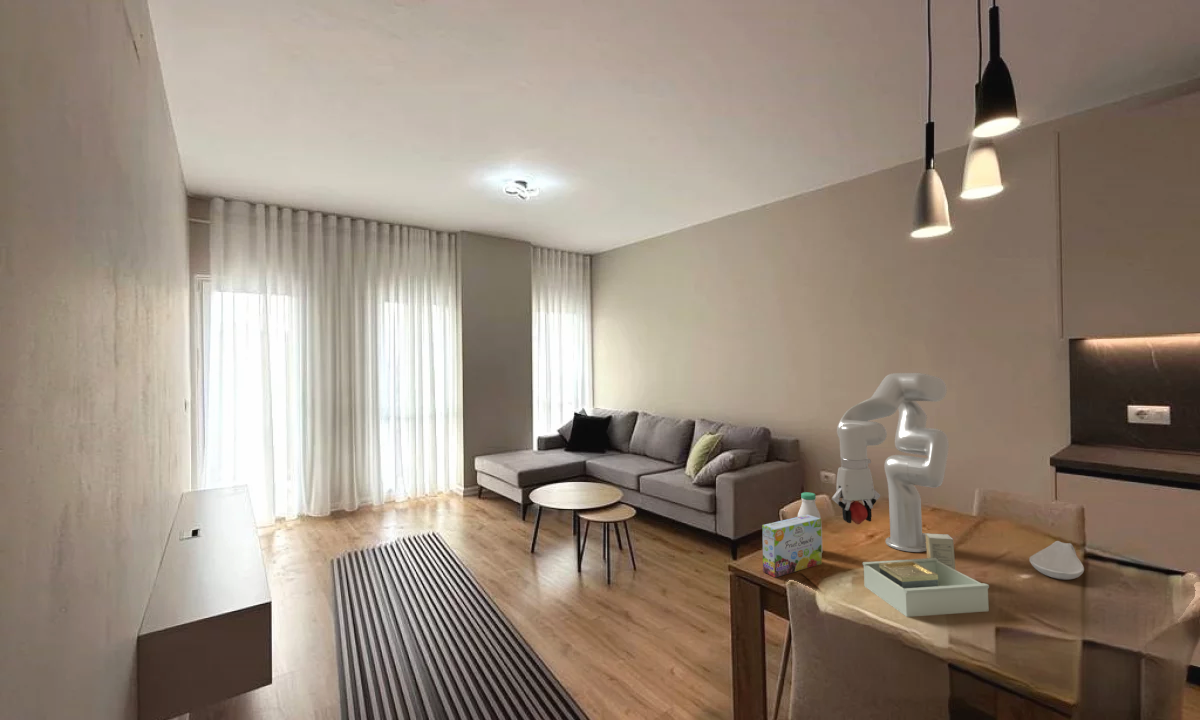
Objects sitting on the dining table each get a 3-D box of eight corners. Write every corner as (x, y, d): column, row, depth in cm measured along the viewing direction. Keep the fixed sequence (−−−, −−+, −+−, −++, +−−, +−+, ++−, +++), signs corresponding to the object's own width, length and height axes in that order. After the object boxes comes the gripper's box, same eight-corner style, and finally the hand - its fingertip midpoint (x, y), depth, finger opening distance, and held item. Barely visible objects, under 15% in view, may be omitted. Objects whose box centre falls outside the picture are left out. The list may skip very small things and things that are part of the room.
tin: (914, 590, 134) (913, 560, 134) (939, 605, 125) (938, 574, 125) (880, 592, 133) (879, 562, 133) (903, 608, 124) (901, 576, 124)
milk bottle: (818, 547, 169) (815, 490, 169) (826, 556, 161) (823, 496, 162) (795, 547, 170) (793, 490, 170) (802, 555, 162) (800, 496, 162)
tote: (936, 583, 139) (934, 557, 139) (990, 614, 121) (988, 585, 122) (863, 588, 138) (862, 562, 138) (907, 620, 120) (906, 590, 120)
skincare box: (951, 574, 145) (949, 534, 145) (956, 581, 140) (954, 539, 141) (926, 572, 147) (924, 532, 147) (931, 578, 143) (929, 537, 143)
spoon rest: (1081, 589, 134) (1080, 563, 134) (1026, 575, 143) (1025, 551, 143) (1092, 565, 149) (1091, 542, 149) (1041, 554, 158) (1040, 532, 158)
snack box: (776, 579, 145) (774, 529, 146) (762, 572, 150) (760, 524, 151) (823, 564, 155) (821, 517, 155) (808, 558, 160) (807, 513, 160)
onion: (843, 521, 153) (842, 497, 153) (860, 520, 154) (859, 495, 154) (854, 528, 148) (853, 502, 148) (872, 526, 148) (870, 500, 148)
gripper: (872, 459, 155) (875, 514, 155) (821, 463, 154) (824, 519, 154) (888, 464, 148) (891, 522, 148) (834, 468, 146) (837, 527, 146)
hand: (857, 520), depth 151 cm, fingers closed on onion, 5 cm apart
